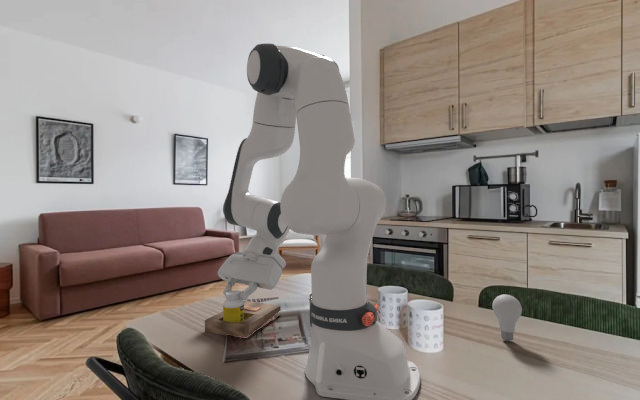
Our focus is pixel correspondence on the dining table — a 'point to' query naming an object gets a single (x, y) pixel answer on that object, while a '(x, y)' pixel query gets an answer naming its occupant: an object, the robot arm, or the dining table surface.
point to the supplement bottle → (233, 307)
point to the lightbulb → (507, 314)
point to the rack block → (254, 318)
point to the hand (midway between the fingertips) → (233, 297)
